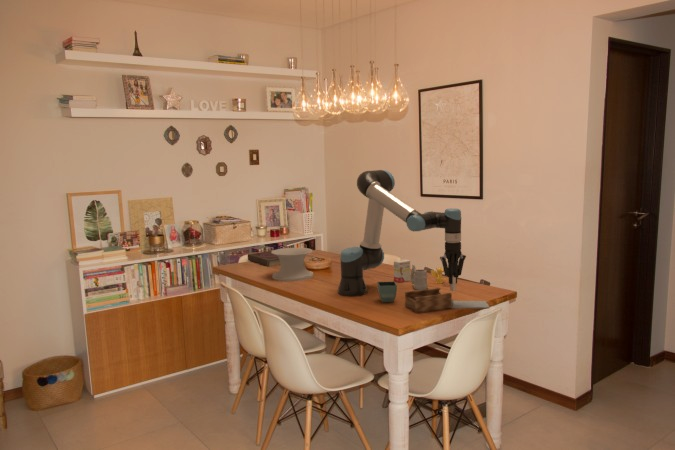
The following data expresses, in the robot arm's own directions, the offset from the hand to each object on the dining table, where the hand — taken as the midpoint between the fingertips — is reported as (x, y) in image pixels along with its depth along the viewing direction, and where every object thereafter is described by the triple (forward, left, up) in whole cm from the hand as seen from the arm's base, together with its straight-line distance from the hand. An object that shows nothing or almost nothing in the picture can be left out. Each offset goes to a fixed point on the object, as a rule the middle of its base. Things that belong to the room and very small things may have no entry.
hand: (452, 290), depth 257 cm
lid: (+6, -4, -8) cm, 10 cm away
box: (-13, 0, -7) cm, 15 cm away
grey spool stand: (-56, +92, -7) cm, 108 cm away
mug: (0, +36, -7) cm, 37 cm away
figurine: (+18, +40, -7) cm, 44 cm away
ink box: (-1, +54, -7) cm, 55 cm away
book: (-59, +145, -8) cm, 157 cm away
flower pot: (-26, +18, -7) cm, 33 cm away
